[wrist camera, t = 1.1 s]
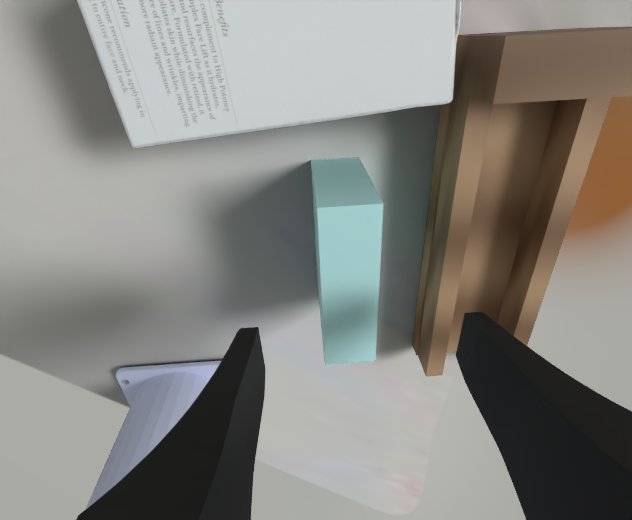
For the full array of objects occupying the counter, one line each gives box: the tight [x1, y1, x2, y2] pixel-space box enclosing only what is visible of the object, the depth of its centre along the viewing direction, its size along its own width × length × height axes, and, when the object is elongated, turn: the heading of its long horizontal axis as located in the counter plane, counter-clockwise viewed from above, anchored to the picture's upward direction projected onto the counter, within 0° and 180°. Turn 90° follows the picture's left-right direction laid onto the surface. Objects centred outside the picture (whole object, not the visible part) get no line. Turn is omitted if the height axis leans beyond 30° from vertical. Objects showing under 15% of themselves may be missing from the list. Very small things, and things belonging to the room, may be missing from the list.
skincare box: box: [77, 0, 461, 148], centre depth 14 cm, size 6×4×12 cm
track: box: [412, 27, 632, 376], centre depth 18 cm, size 18×6×5 cm, turn 3°
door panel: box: [311, 157, 383, 365], centre depth 18 cm, size 8×2×6 cm, turn 3°
